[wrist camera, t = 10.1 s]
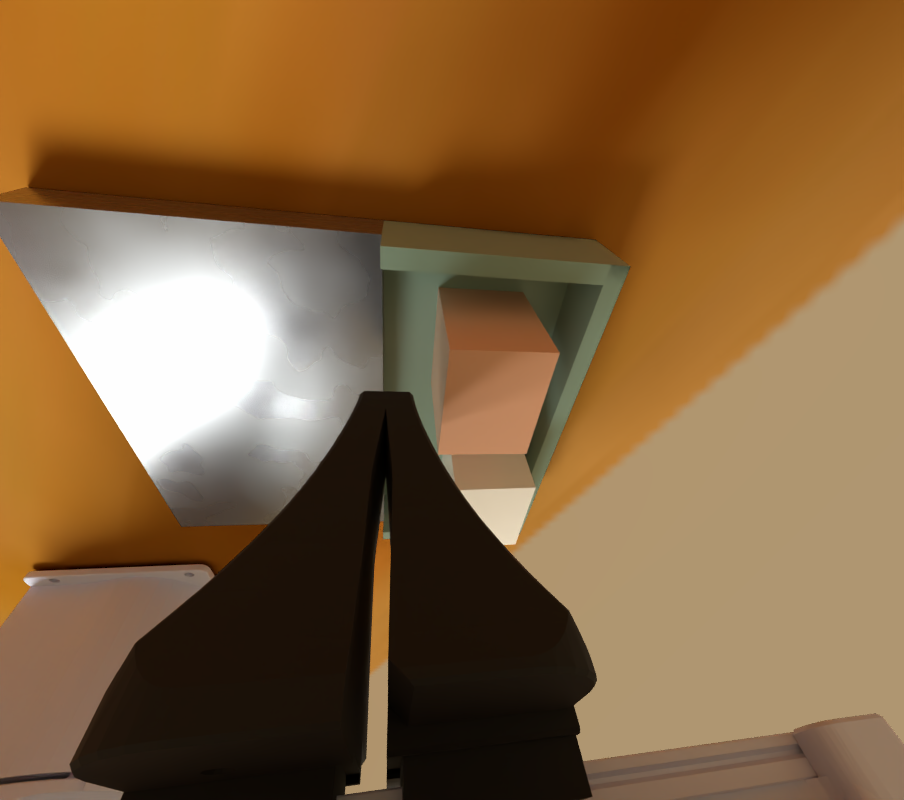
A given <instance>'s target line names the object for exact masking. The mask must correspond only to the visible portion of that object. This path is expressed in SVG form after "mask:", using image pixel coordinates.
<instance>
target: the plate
mask: <svg viewBox="0 0 904 800" xmlns="http://www.w3.org/2000/svg"><path fill="white" fill-rule="evenodd" d="M383 223H384V220H375V219H364V218H353V217H342V216H331V215H321V214H310V213H299V212H288V211H277V210H266V209H255V208H244V207H234V206H223V205H212V204H201V203H190V202H179V201H168V200H157V199H147V198H136V197H125V196H114V195H103V194H92V193H81V192H71V191H60V190H49V189H38V188H27V187H26V188H22V189H18V190H14V191H10V192H6V193H2V194H0V237H1V239H2V240H3V242H4V244H5V245H6V247H7V248H8V250H9V252H10V253H11V255H12V256H13V258H14V260H15V261H16V263H17V264H18V266H19V268H20V269H21V271H22V272H23V274H24V276H25V277H26V279H27V280H28V282H29V284H30V285H31V287H32V288H33V290H34V292H35V293H36V295H37V296H38V298H39V300H40V301H41V303H42V304H43V306H44V308H45V309H46V311H47V312H48V314H49V316H50V317H51V319H52V320H53V322H54V324H55V325H56V327H57V328H58V330H59V332H60V333H61V335H62V336H63V338H64V340H65V341H66V343H67V344H68V346H69V348H70V349H71V351H72V352H73V354H74V356H75V357H76V359H77V360H78V362H79V364H80V365H81V367H82V368H83V370H84V372H85V373H86V375H87V376H88V378H89V380H90V381H91V383H92V384H93V386H94V388H95V389H96V391H97V392H98V394H99V396H100V397H101V399H102V400H103V402H104V404H105V405H106V407H107V408H108V410H109V412H110V413H111V415H112V416H113V418H114V420H115V421H116V423H117V424H118V426H119V428H120V429H121V431H122V432H123V434H124V436H125V437H126V439H127V440H128V442H129V444H130V445H131V447H132V448H133V450H134V452H135V453H136V455H137V456H138V458H139V460H140V461H141V463H142V464H143V466H144V468H145V469H146V471H147V472H148V474H149V476H150V477H151V479H152V481H153V482H154V484H155V485H156V487H157V489H158V490H159V492H160V493H161V495H162V497H163V498H164V500H165V501H166V503H167V505H168V506H169V508H170V509H171V511H172V513H173V514H174V516H175V517H176V519H177V521H178V522H179V524H180V525H181V527H186V526H222V525H259V524H269V523H270V522H271V521H272V520H273V519H274V518H275V517H276V516H277V515H278V514H279V513H280V512H281V510H282V509H283V508H284V507H285V506H286V505H287V504H288V503H289V502H290V500H291V499H292V498H293V497H294V496H295V495H296V493H297V492H298V491H299V490H300V489H301V487H302V486H303V485H304V484H305V483H306V481H307V480H308V479H309V477H310V476H311V475H312V474H313V472H314V471H315V470H316V468H317V467H318V465H319V464H320V463H321V461H322V460H323V458H324V457H325V456H326V454H327V453H328V451H329V450H330V448H331V447H332V445H333V444H334V442H335V441H336V439H337V437H338V436H339V434H340V433H341V431H342V429H343V428H344V426H345V424H346V423H347V421H348V419H349V417H350V415H351V413H352V412H353V410H354V408H355V405H356V403H357V401H358V399H359V396H360V394H361V393H362V392H363V391H384V269H380V244H381V237H382V230H383ZM384 504H385V487H384V494H383V502H382V509H381V516H380V521H384Z"/></svg>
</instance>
